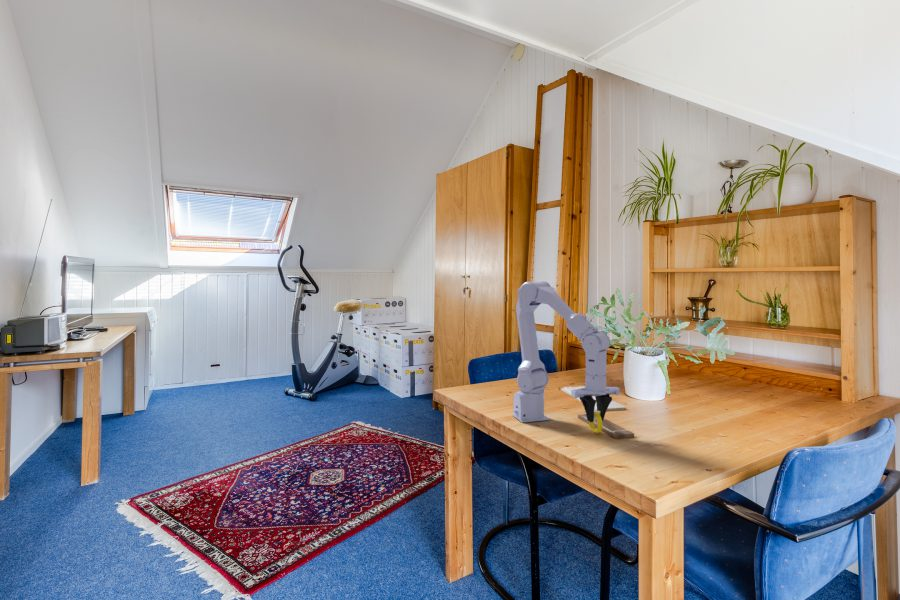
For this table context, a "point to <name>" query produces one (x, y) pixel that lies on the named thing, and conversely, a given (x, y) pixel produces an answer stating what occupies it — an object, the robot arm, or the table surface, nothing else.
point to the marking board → (609, 428)
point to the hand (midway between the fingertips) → (595, 420)
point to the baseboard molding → (611, 407)
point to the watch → (599, 420)
